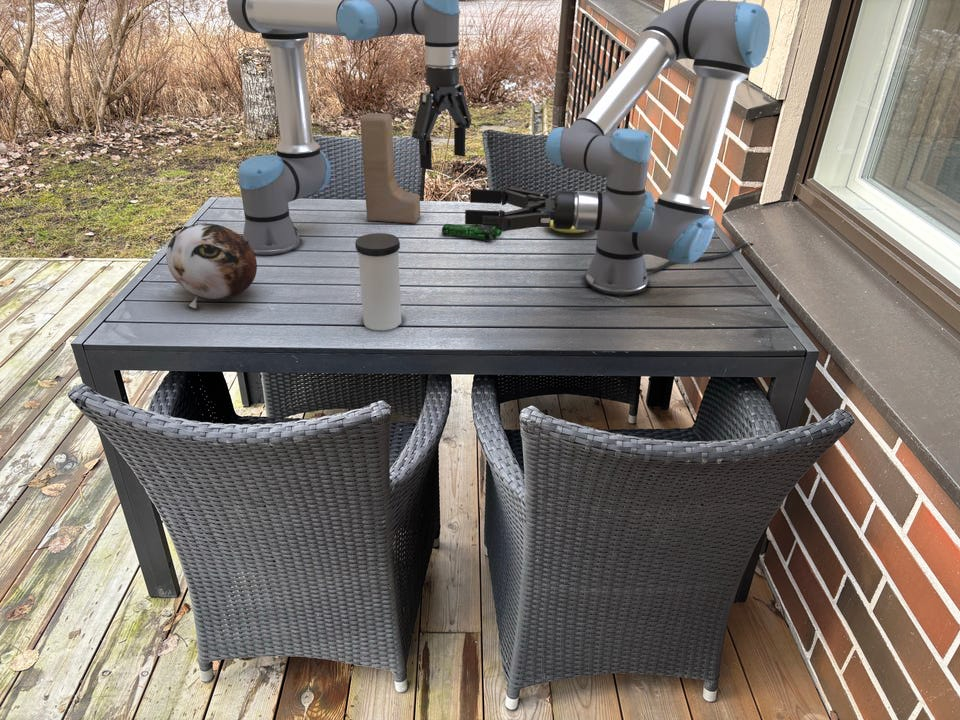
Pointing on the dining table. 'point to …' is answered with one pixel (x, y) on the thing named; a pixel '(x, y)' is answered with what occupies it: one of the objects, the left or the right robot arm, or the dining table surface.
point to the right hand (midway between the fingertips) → (467, 205)
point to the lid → (377, 244)
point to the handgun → (473, 231)
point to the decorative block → (384, 174)
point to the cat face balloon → (211, 261)
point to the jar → (380, 291)
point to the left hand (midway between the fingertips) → (443, 161)
